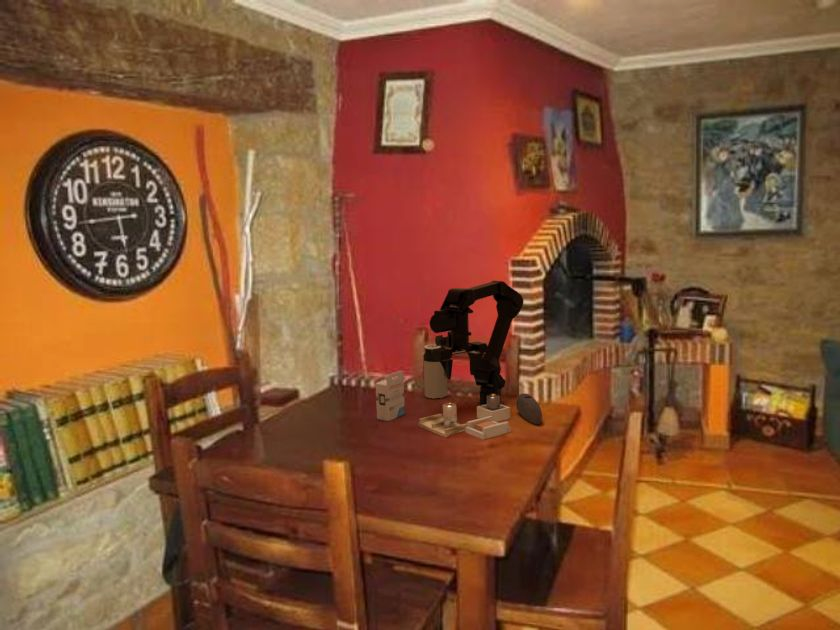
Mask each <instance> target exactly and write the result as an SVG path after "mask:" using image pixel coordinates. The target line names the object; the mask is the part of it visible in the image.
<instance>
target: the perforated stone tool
mask: <svg viewBox="0 0 840 630" xmlns="http://www.w3.org/2000/svg"><path fill="white" fill-rule="evenodd" d="M515 406H516V410H517V412H518V413H519V415H520V416H521V417H522V418H523V419H524V420H526V421H528V422H529V423H531V424H534V425H535V426H536V425H540V424H541V423H542V419H543V413H542V409H541V407H540V405H539V403H538V402H537V400H536V399H535V398H534V397H533V396H532V395H530V394H528V393H521V394H519V395H517V398H516V404H515Z"/></svg>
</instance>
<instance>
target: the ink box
mask: <svg viewBox="0 0 840 630" xmlns="http://www.w3.org/2000/svg"><path fill="white" fill-rule="evenodd" d="M396 376H397V377H396ZM385 378H386V379H384V380H381V381H378V382H375V400H376V401H375V404H376V419H377V420H381V421H386V422H391V421H392V420H394V419H397V418H400V417H402V416H404V415H405V414H406V411H405V410H406V408H405V389H404V388H405V384H404V371H403V370H399V371H395V372H393V373H390V374H387V375H386V377H385Z"/></svg>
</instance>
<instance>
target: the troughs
mask: <svg viewBox="0 0 840 630" xmlns="http://www.w3.org/2000/svg"><path fill="white" fill-rule="evenodd" d="M417 424H418V427H420V428H422V429H425V430H426V431H429V432H432V433H434V434H436V435H438V436H441V437H443V438H448V437H451V436H452V435H455V434H458V433H462V432H466V431H465V427H467V423H462V424H461V423H459V422H457V426H455V427H451V428H447V429H444V428H443V413H437V414H433V415H429V416H424V417H421V418H419V422H418V423H417Z"/></svg>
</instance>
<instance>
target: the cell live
mask: <svg viewBox="0 0 840 630" xmlns="http://www.w3.org/2000/svg"><path fill="white" fill-rule="evenodd" d="M457 410H458V409H457V404H456V402H455V403H453V402H452V401H448V402H446V403H443V404H442V417H443V428H444V429H447V428H451V427H455V426H457V423H458V415H457V412H458V411H457Z"/></svg>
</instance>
